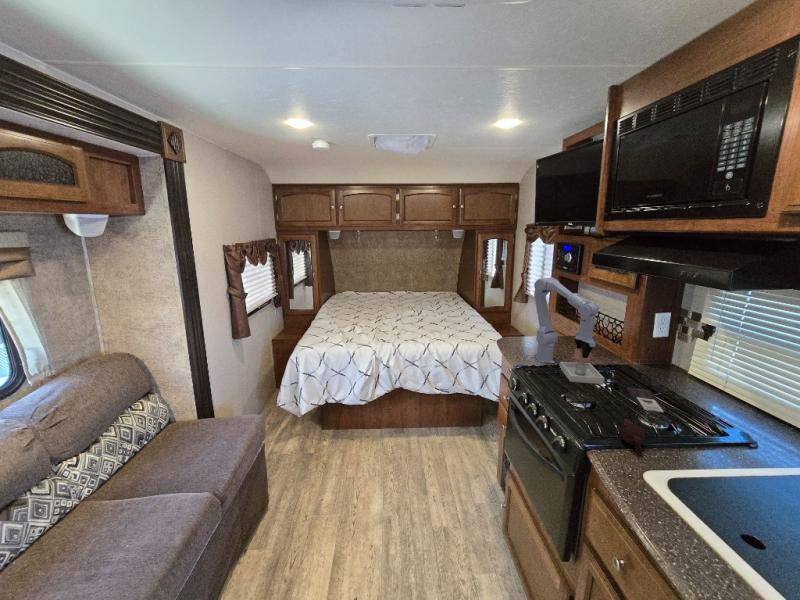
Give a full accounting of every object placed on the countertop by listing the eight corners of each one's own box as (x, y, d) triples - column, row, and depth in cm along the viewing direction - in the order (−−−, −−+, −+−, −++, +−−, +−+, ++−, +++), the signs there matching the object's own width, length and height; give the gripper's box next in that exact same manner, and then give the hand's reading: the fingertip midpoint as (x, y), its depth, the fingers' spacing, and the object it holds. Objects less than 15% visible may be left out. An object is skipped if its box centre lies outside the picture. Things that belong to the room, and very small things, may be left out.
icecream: (612, 410, 114) (624, 439, 101) (636, 409, 112) (653, 439, 98) (614, 427, 116) (626, 458, 103) (638, 427, 113) (655, 458, 100)
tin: (573, 371, 157) (575, 361, 156) (581, 371, 158) (583, 361, 156) (578, 375, 153) (580, 365, 151) (587, 375, 153) (589, 365, 152)
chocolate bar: (650, 390, 140) (668, 412, 124) (649, 392, 140) (667, 414, 124) (625, 386, 143) (640, 407, 127) (625, 388, 143) (639, 410, 127)
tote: (559, 367, 164) (560, 361, 163) (589, 368, 162) (589, 363, 161) (570, 381, 149) (571, 375, 148) (603, 384, 146) (604, 378, 146)
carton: (574, 356, 155) (575, 348, 154) (585, 357, 155) (587, 348, 154) (578, 360, 151) (579, 351, 150) (590, 360, 151) (591, 351, 150)
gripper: (570, 323, 157) (566, 349, 160) (585, 333, 143) (581, 362, 146) (584, 323, 157) (581, 350, 160) (601, 333, 143) (597, 362, 146)
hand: (582, 355), depth 153 cm, fingers closed on carton, 4 cm apart
